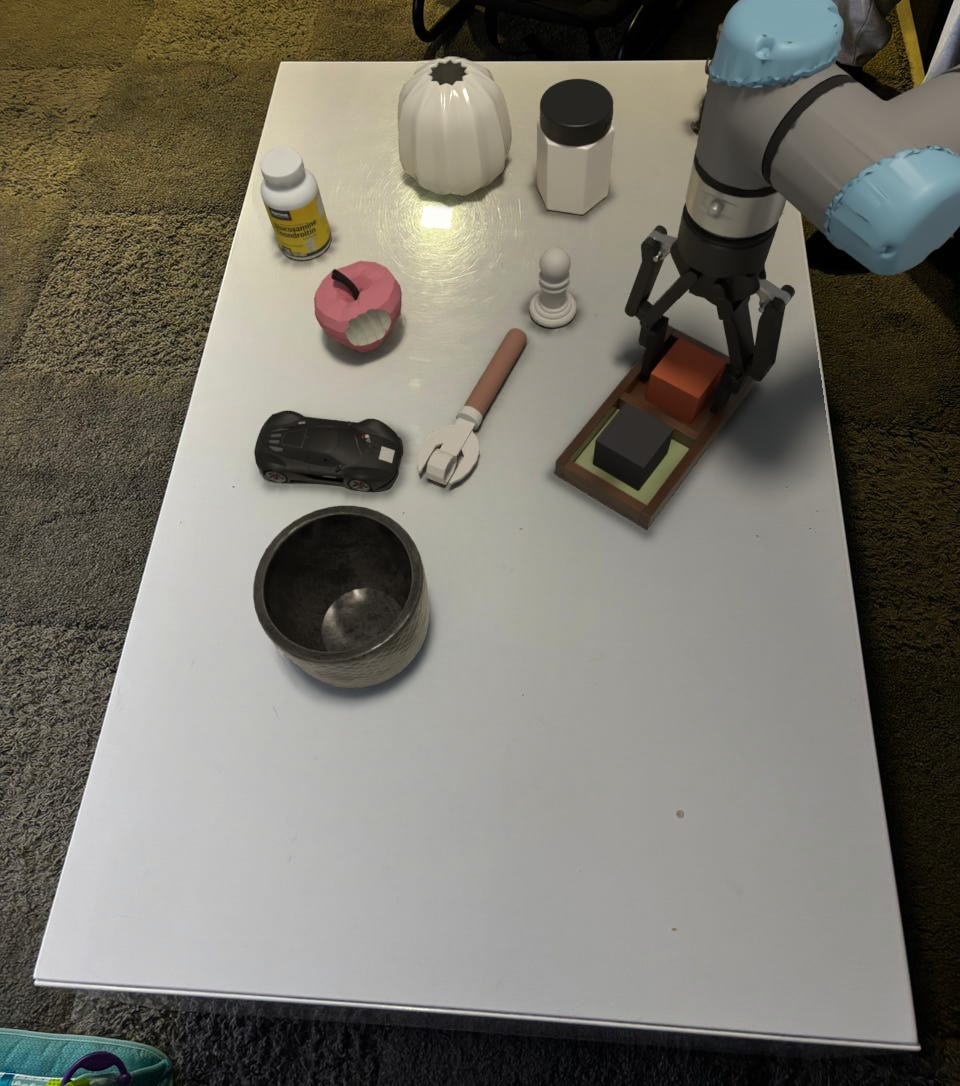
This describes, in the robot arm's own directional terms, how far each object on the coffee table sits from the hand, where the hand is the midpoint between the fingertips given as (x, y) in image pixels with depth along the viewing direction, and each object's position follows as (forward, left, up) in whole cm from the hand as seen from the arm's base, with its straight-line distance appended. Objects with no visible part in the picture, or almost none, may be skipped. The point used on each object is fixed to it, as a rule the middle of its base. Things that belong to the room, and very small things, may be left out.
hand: (684, 385), depth 85 cm
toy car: (+26, +27, -2) cm, 38 cm away
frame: (0, +5, -2) cm, 5 cm away
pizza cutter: (+17, +14, -2) cm, 22 cm away
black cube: (0, +10, -1) cm, 10 cm away
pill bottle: (+49, +6, -2) cm, 49 cm away
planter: (+10, +40, -2) cm, 41 cm away
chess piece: (+18, -2, -2) cm, 18 cm away
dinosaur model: (+17, -35, -2) cm, 39 cm away
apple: (+33, +13, -2) cm, 36 cm away
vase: (+41, -14, -2) cm, 43 cm away
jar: (+27, -19, -2) cm, 33 cm away
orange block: (0, 0, -2) cm, 2 cm away
